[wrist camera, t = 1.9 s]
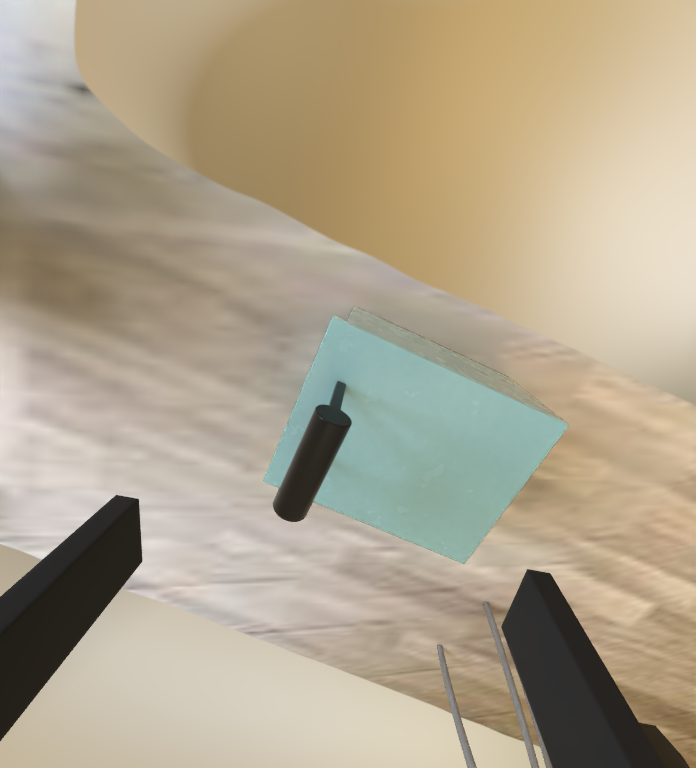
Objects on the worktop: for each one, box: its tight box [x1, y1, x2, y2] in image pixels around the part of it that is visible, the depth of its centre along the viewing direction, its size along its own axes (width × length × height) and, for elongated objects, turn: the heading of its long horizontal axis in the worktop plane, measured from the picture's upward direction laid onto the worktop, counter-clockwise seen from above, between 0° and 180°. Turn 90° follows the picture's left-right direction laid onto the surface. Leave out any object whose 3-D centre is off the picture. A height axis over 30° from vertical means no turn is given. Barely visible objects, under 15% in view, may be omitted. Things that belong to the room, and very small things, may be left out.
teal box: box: [347, 306, 563, 420], centre depth 32 cm, size 18×15×11 cm
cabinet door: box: [263, 316, 569, 564], centre depth 23 cm, size 19×15×8 cm
